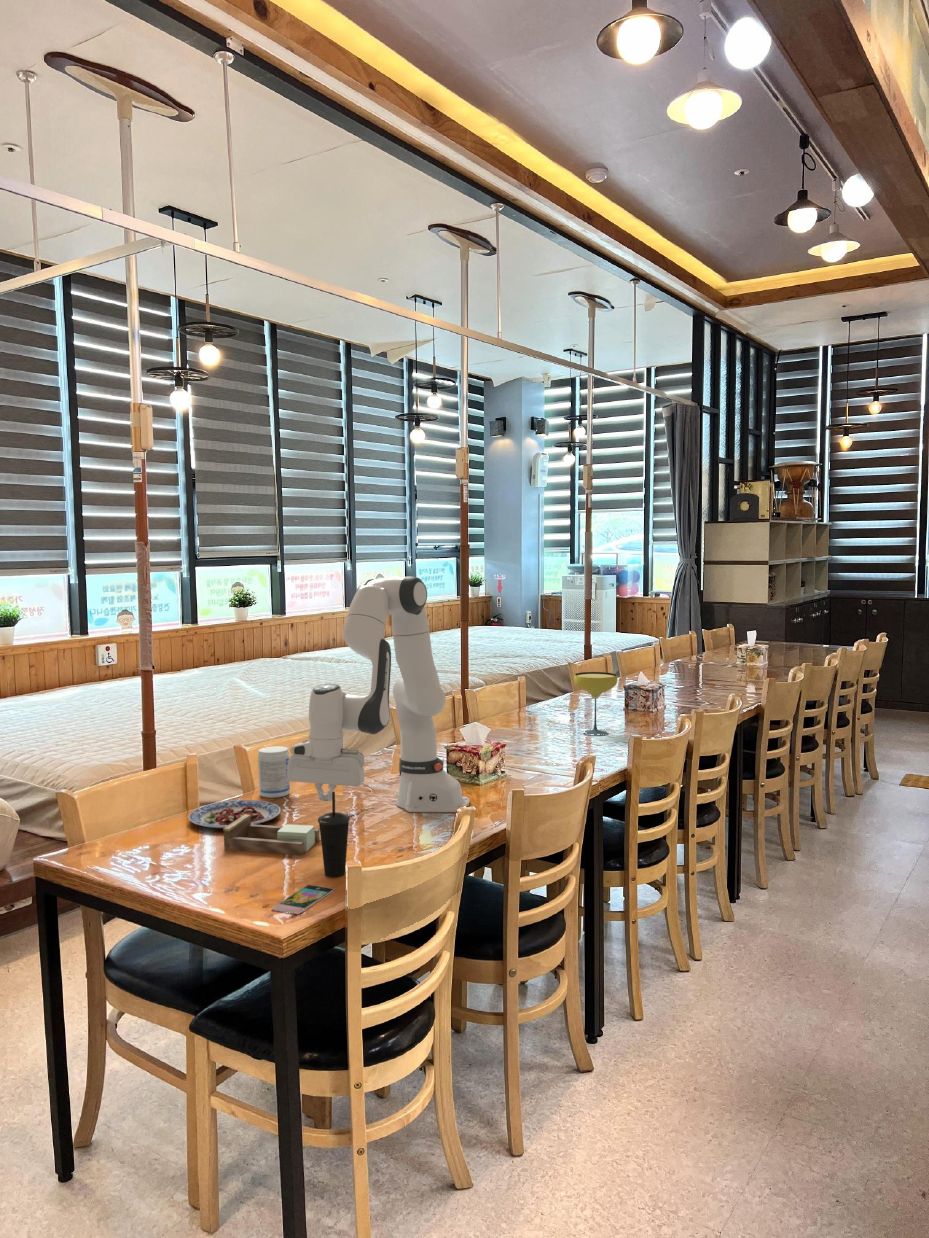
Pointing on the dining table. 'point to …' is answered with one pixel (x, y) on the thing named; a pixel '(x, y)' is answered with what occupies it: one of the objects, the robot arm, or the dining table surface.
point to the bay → (243, 828)
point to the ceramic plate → (233, 812)
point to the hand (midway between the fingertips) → (325, 800)
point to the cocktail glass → (595, 688)
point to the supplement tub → (273, 772)
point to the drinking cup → (334, 841)
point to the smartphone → (303, 899)
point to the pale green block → (298, 834)
